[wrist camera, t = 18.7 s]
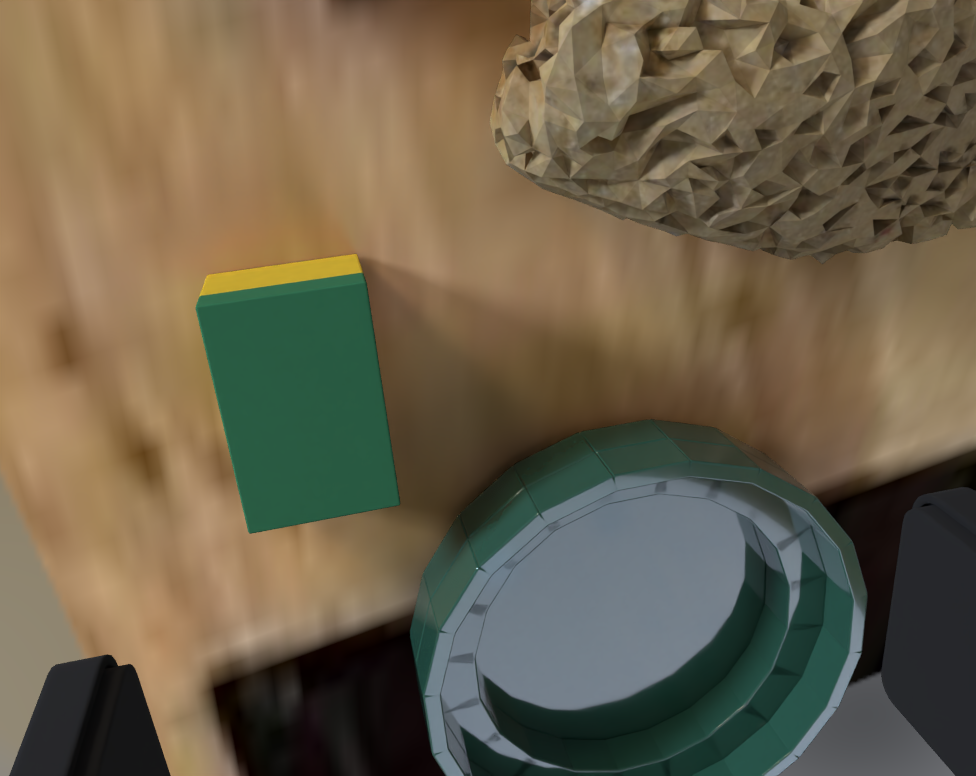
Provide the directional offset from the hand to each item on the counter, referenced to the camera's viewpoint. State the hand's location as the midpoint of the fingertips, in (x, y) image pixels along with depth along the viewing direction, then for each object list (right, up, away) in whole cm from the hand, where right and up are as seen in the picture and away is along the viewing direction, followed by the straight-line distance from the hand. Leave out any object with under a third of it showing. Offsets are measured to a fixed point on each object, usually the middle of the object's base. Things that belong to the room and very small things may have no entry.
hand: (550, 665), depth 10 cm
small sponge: (-7, +4, +17) cm, 19 cm away
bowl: (+4, -5, +23) cm, 24 cm away
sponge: (+9, +14, +17) cm, 24 cm away
